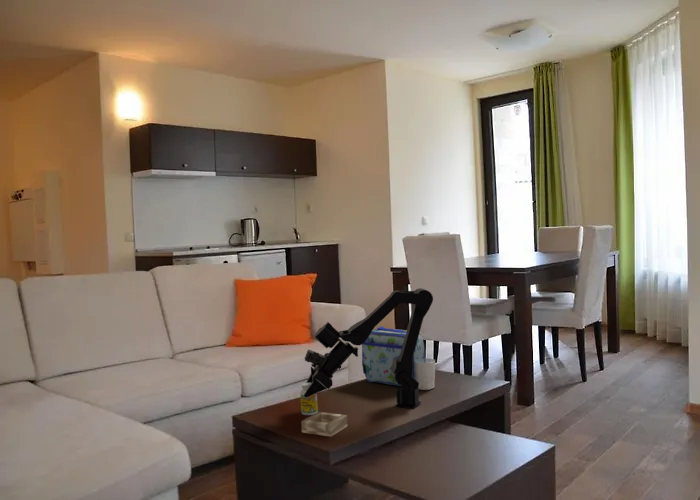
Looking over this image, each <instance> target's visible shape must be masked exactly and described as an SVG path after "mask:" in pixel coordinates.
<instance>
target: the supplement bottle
mask: <svg viewBox="0 0 700 500" xmlns="http://www.w3.org/2000/svg"><path fill="white" fill-rule="evenodd" d="M310 385H311V383H306V382H304V383H302V384H301V388H302V390H300V395H299V396H300V409H301V411H300V412H301V414H302V415H303V416H312V415H314V414H316V413H317V412H319V407H318V393H316V394H313V395H311V396H309V397H307V398H306V397H305V396H304V394H305V392H306V391H307V389H308V388H309V386H310Z"/></svg>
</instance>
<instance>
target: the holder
mask: <svg viewBox="0 0 700 500" xmlns="http://www.w3.org/2000/svg"><path fill="white" fill-rule="evenodd" d="M347 427H348V415H347V414H340V413H331V412H322V411H318V412H317V413H316V414H314V415H309V417H306V418H304V419H303V420H301V433H303V434H304V433H305V434H311V435H319V436H324V437H333V436H334V435H336V434H337V433H339V432H340V431H342V430H344V429H345V428H347Z"/></svg>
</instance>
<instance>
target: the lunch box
mask: <svg viewBox="0 0 700 500" xmlns="http://www.w3.org/2000/svg"><path fill="white" fill-rule="evenodd" d="M406 331H407V329H406V330H405V329H397V328H396V329H395V328H385V327H384V326H378V327H377V329H375V328H374V329H373V330H372V332H371V334H370V335H369V337H368V338H367V339H366V341H365V342H364V343H363V344H362V345H361V366H362V372H363V374H364V376H365V378H366V381H367V382H370V383H379V384H384V385H392V386H397V387H398V386H400V385H399V384H398V383H397V382H396V381H395V379H394V378H393V377H392V375H391V370H390V367H391V366H392V362H393V358H396V359H397V358H398V357H399V355H400V353H401V350H402V346H403V342H404V339H405V335H406ZM425 358H426V353H425V343H424V340H423V337H422V336H421V335H420V334H419V336H418V340H417V344H416V347H415V351H414V355H413V371H412V377H413V378H414V379H415V380H416V371H415V362H418V363H425Z"/></svg>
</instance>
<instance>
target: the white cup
mask: <svg viewBox="0 0 700 500" xmlns="http://www.w3.org/2000/svg"><path fill="white" fill-rule="evenodd" d="M415 371H416V381H417V382H418V383H419V386H418V390H423V391H429V390H432V389H434V388H435V380H436V379H435V378H436V377H435V375H436V359H433V358H427V357H425V363H418V362H415Z"/></svg>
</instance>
